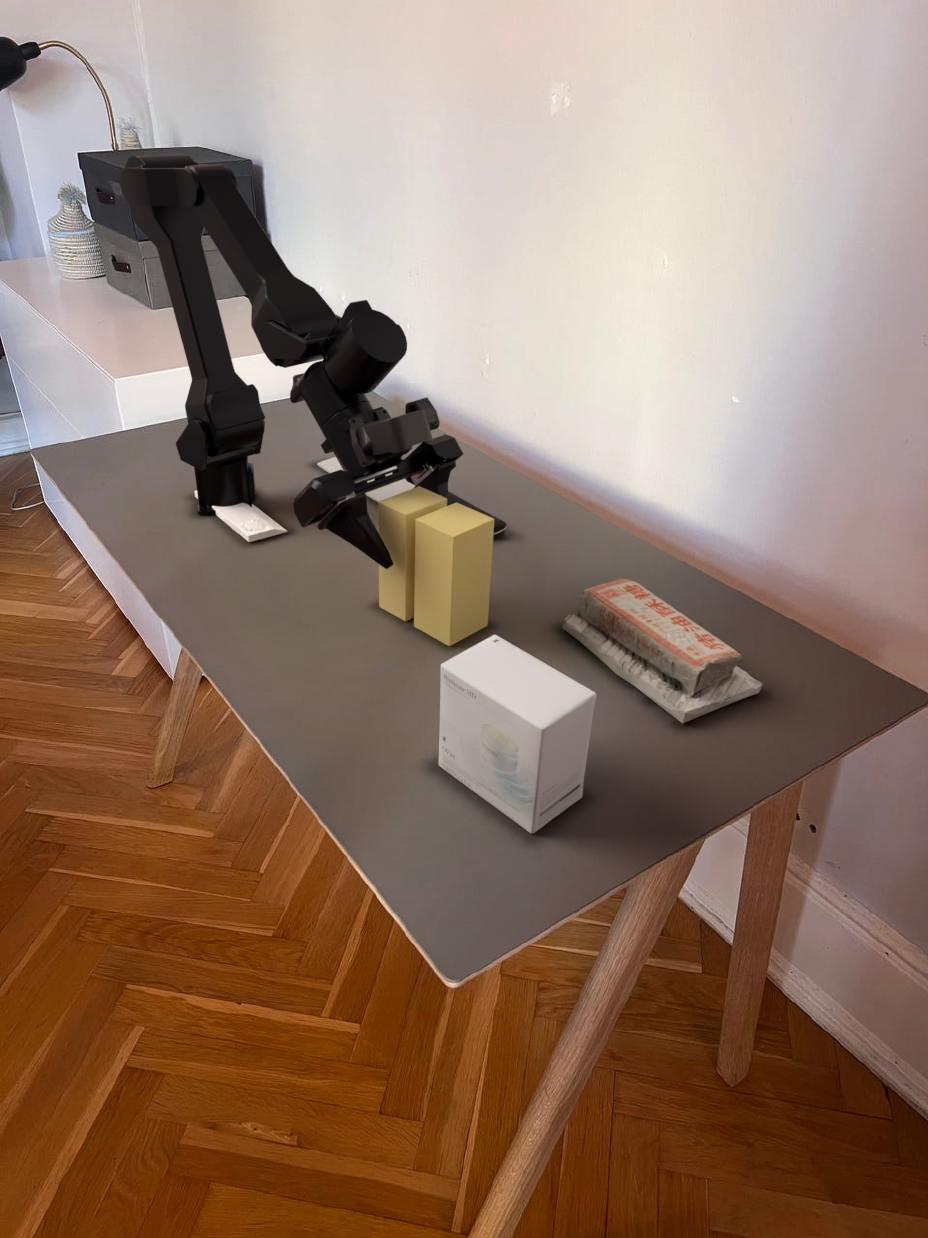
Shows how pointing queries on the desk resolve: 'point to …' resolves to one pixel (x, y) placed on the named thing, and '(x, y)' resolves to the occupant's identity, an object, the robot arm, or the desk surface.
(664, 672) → the packaged product
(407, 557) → the yellow rectangular block
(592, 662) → the desk surface
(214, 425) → the robot arm
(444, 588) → the butter block
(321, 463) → the kitchen cleaver
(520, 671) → the cosmetics box
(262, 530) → the white flat slab
